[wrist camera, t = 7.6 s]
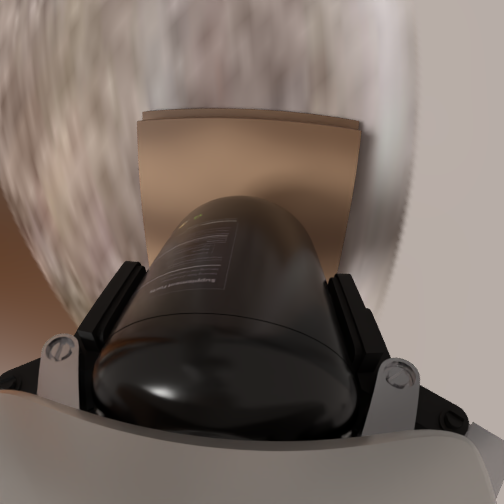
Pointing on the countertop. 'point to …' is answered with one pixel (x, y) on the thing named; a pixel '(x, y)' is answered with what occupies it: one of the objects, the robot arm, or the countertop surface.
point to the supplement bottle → (231, 334)
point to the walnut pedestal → (248, 169)
